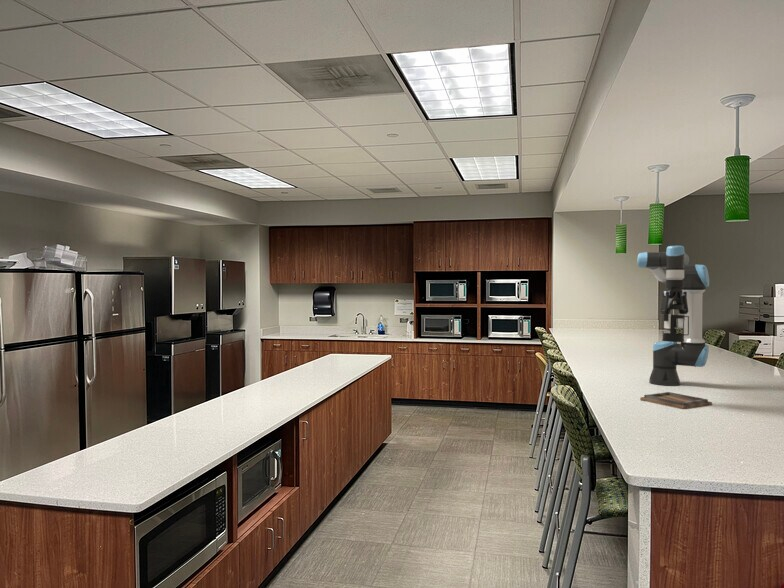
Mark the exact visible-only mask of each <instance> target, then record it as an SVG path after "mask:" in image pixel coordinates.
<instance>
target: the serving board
mask: <svg viewBox="0 0 784 588" xmlns="http://www.w3.org/2000/svg"><path fill="white" fill-rule="evenodd" d="M640 401H644V402H647V403H648V402H649V403H653V404H658V405H662V406H666V407H672V408H675V409H676V408H677V409H681V410H686V409H693V408H699V407H706V406H707V407H708V406H712V405H713V402H712V401H709V399H707V398H702V397H698V396H691V395H686V394H681V393H676V392H672V391H666V392H665V391H664V392H656V393H650V394H644V396H643V397H642V396H640Z"/></svg>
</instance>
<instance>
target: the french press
mask: <svg viewBox="0 0 784 588" xmlns="http://www.w3.org/2000/svg"><path fill="white" fill-rule="evenodd" d="M683 306H684V305H681V304H677V303H675V301H673V304H672V307H671V310H672V314H671V326H670V329H668V328H665V329H666V330H669V331H670V332H662V339H661V341H668V342H677V343H681V342H684V335H689V316H684V315H678V314H675V310H678V311H679V310H683ZM684 317H688V334H684ZM678 318H679V319H681V318H683V327H678V326H677V319H678ZM662 327H664V314H662ZM677 330H682V333H679V332H678V333H677Z"/></svg>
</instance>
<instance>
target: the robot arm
mask: <svg viewBox="0 0 784 588" xmlns="http://www.w3.org/2000/svg"><path fill="white" fill-rule="evenodd" d="M637 254H638V255H637V261H636V262H637V266H638V268H640V269H641V268H642V269H643V268H644V269H648V270H649V271H650V272H651V273H652V274H653V276H654V278H655V279H656V281H658V282H660V283H662V284H664V285H665V288H667V291H666V290H663V291H662V299H661V306H660V311H659V312H660V313H661V314H662V315H664V326H663V329H666V328H668V329H667V330H670V326H671V315H672V314H671V313H670V312H671V310H672V309H671V307H672V304H673V301H674V302H675V304H681V305H684V306H683V310H678V312H679V313H678V314H677V315H684V316H689V335H684V342H680V343H678V342H668V341H662V340H661V341H656V342H654V344H653V348H652V370H651V373H650V376H649V380H648V381H649V383H650V384H652V385H659V386H671V387H672V386H680V384H681V379H680V377H679V374H678V371H677V366H682V367H683V366H684V367H685V366H686V367H694V368H696V367H697V368H698V367H699V368H703V367H705V366H706V365H707V361H708V357H709V351H710V347H709V345H708V344H706V340H704V338H703V295H704V294H703V293H705V291H706V290H707V287H709V286H710V277H709V275H710V274H709V271H708V267H707V266H706V265H704V264H689V262H690V258H689V257H690V256H689V255H688V254H687V253H686V252H685V247H684V246H683V245H669V246H667V247H666V251H653V252H652V251H650V252H649V251H644V252H640V253H637ZM677 327H683V318H681V319H679V318H677ZM684 334H688V317H684Z"/></svg>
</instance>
